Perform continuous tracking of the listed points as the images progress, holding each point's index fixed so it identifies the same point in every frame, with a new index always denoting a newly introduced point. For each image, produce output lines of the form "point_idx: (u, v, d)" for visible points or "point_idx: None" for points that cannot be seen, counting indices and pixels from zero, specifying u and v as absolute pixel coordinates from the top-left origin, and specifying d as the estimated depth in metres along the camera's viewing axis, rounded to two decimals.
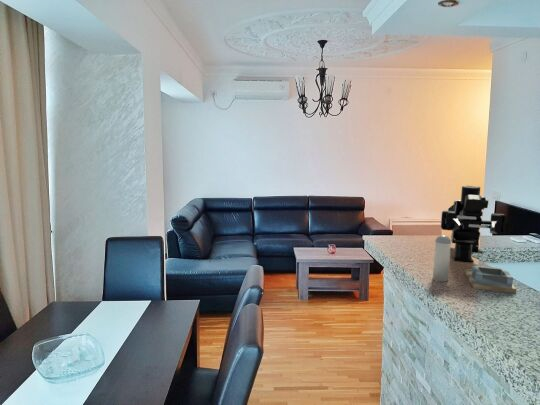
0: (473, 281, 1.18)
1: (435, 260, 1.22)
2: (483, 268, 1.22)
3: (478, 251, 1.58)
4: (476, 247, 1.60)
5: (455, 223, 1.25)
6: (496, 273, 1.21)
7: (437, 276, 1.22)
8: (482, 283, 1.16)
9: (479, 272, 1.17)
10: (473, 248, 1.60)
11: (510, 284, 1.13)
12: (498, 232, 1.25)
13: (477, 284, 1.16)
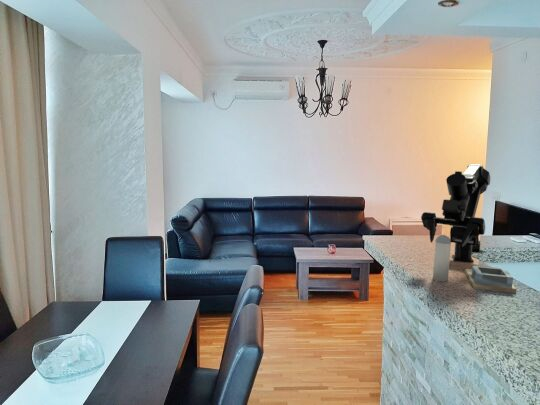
0: (473, 281, 1.18)
1: (435, 260, 1.22)
2: (483, 268, 1.22)
3: (480, 251, 1.58)
4: (478, 247, 1.60)
5: None
6: (496, 273, 1.21)
7: (437, 276, 1.22)
8: (482, 283, 1.16)
9: (479, 272, 1.17)
10: (475, 248, 1.60)
11: (510, 284, 1.13)
12: (476, 235, 1.25)
13: (477, 284, 1.16)
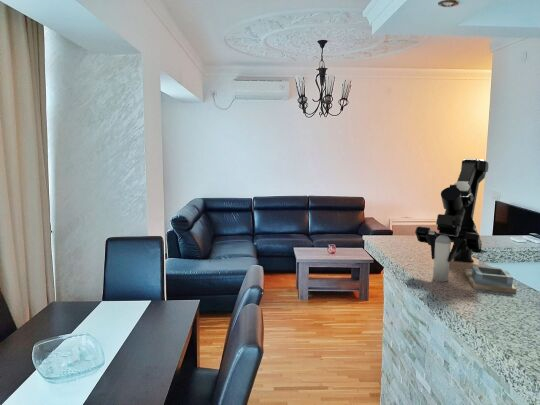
0: (473, 281, 1.18)
1: (435, 260, 1.22)
2: (483, 268, 1.22)
3: (482, 251, 1.59)
4: None
5: (431, 250, 1.25)
6: (496, 273, 1.21)
7: (437, 276, 1.22)
8: (482, 283, 1.16)
9: (479, 272, 1.17)
10: None
11: (510, 284, 1.13)
12: (464, 249, 1.23)
13: (477, 284, 1.16)
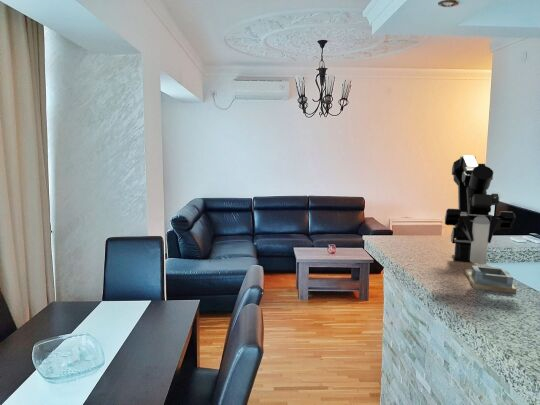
0: (473, 281, 1.18)
1: (475, 242, 1.17)
2: (483, 268, 1.22)
3: None
4: None
5: (467, 232, 1.19)
6: (496, 273, 1.21)
7: (478, 259, 1.17)
8: (482, 283, 1.16)
9: (479, 272, 1.17)
10: None
11: (510, 284, 1.13)
12: (496, 229, 1.21)
13: (477, 284, 1.16)
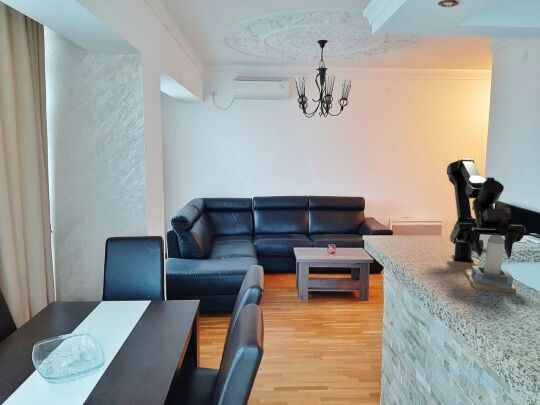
0: (473, 281, 1.18)
1: (490, 261, 1.17)
2: (483, 268, 1.22)
3: None
4: (482, 246, 1.61)
5: (475, 246, 1.19)
6: None
7: None
8: (482, 283, 1.16)
9: (479, 272, 1.17)
10: (480, 248, 1.61)
11: (510, 284, 1.13)
12: None
13: (477, 284, 1.16)
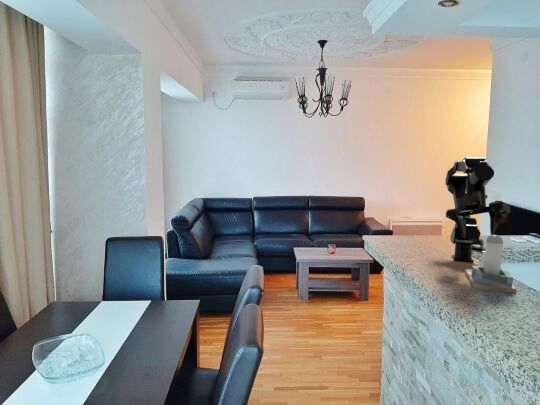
0: (473, 281, 1.18)
1: (489, 261, 1.17)
2: (483, 268, 1.22)
3: None
4: (482, 246, 1.62)
5: None
6: None
7: None
8: (482, 283, 1.16)
9: (479, 272, 1.17)
10: (481, 247, 1.61)
11: (510, 284, 1.13)
12: (503, 216, 1.26)
13: (477, 284, 1.16)
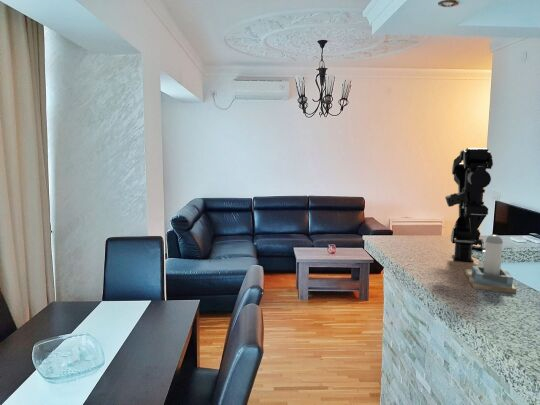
0: (473, 281, 1.18)
1: (489, 262, 1.17)
2: None
3: None
4: (482, 246, 1.62)
5: None
6: None
7: None
8: (482, 283, 1.16)
9: (479, 272, 1.17)
10: (482, 247, 1.62)
11: (510, 284, 1.13)
12: (484, 216, 1.25)
13: (477, 284, 1.16)
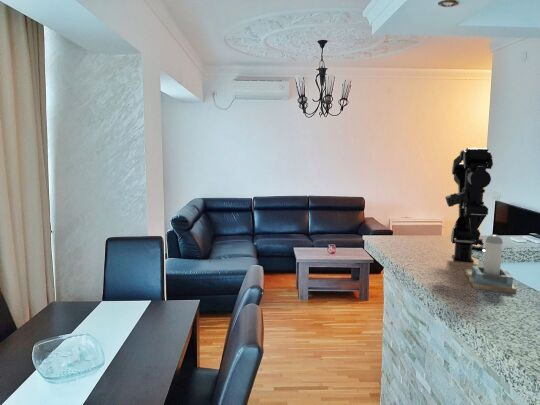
0: (473, 281, 1.18)
1: (489, 262, 1.17)
2: None
3: None
4: (482, 245, 1.63)
5: None
6: None
7: None
8: (482, 283, 1.16)
9: (479, 272, 1.17)
10: (482, 247, 1.62)
11: (510, 284, 1.13)
12: (484, 216, 1.25)
13: (477, 284, 1.16)
